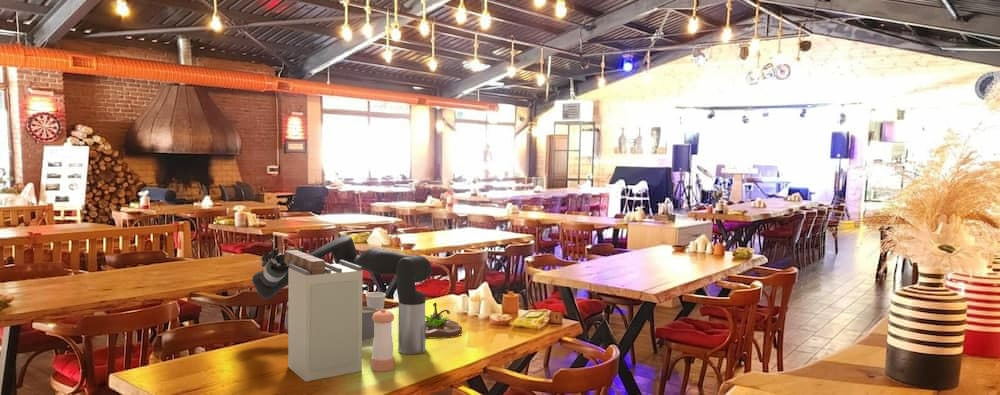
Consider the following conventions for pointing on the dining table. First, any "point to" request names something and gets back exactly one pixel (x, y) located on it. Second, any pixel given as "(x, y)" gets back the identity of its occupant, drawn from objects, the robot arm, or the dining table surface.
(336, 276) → the cabinet
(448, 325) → the plant
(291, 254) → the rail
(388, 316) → the pepper shaker
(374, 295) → the dixie cup
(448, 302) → the dining table surface
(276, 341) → the dining table surface
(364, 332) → the coffee mug
